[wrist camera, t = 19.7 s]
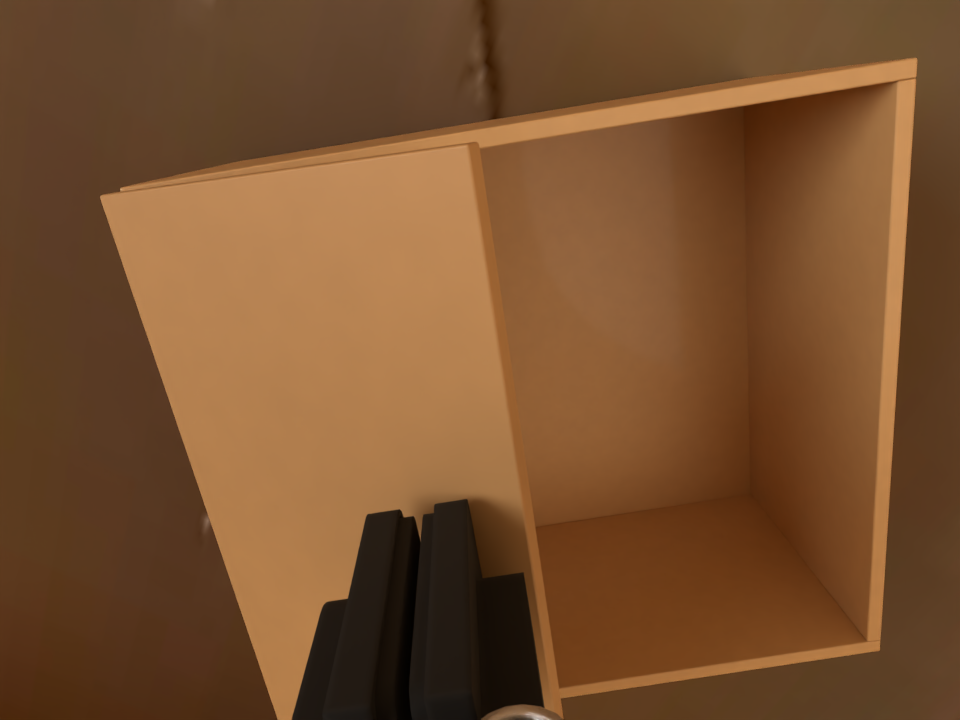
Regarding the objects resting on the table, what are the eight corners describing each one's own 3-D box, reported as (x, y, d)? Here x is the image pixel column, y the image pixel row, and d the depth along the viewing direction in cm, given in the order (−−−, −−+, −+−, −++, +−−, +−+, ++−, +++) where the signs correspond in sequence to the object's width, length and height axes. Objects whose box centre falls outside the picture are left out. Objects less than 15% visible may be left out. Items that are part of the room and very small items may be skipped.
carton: (343, 559, 24) (300, 738, 17) (237, 161, 19) (118, 187, 12) (756, 495, 24) (880, 651, 17) (750, 77, 19) (918, 57, 12)
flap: (301, 751, 17) (292, 764, 16) (115, 191, 12) (98, 195, 12) (584, 850, 13) (578, 868, 13) (479, 140, 9) (468, 143, 9)
